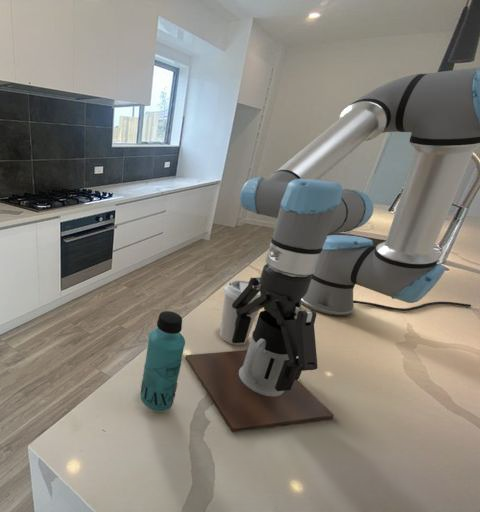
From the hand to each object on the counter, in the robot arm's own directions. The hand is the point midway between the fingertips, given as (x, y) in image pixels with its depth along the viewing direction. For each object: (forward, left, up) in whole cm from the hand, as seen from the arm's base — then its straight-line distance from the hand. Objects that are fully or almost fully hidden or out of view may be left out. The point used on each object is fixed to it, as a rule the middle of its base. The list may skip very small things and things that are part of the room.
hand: (258, 363), depth 61 cm
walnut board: (0, 0, -6) cm, 6 cm away
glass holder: (0, +1, -5) cm, 5 cm away
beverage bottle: (+22, +2, -6) cm, 23 cm away
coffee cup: (-6, -16, -6) cm, 18 cm away
